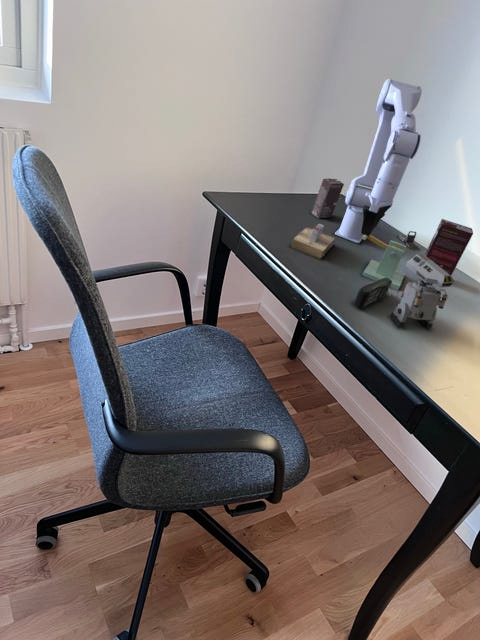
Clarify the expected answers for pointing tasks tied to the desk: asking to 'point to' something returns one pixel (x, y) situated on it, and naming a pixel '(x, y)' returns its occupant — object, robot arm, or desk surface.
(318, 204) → the box
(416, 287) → the figurine
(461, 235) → the supplement box
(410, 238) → the strap clip
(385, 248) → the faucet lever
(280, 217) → the desk surface
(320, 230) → the grey rectangular block
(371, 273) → the green lever mechanism
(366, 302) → the dark grey piece
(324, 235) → the panel
